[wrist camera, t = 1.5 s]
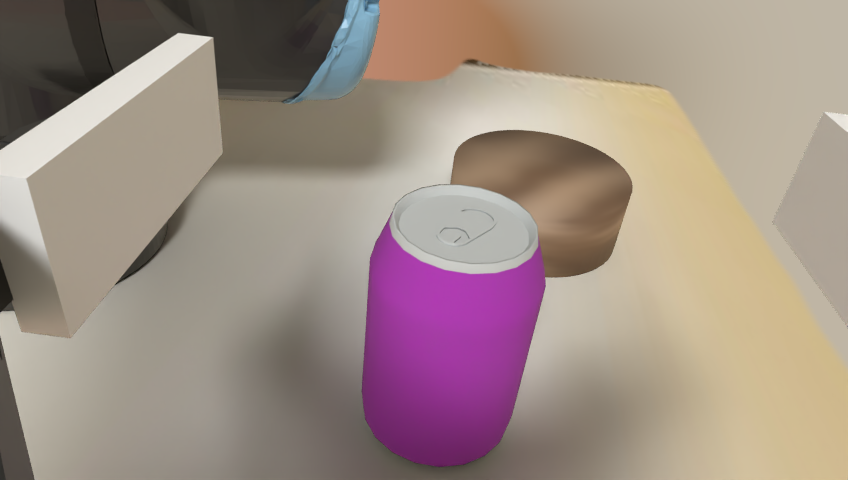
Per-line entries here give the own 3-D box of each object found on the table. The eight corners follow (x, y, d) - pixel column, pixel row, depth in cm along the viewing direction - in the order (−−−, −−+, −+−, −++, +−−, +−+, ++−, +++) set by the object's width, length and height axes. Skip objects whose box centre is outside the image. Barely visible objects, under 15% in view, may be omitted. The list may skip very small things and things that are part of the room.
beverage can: (457, 508, 29) (501, 306, 22) (329, 422, 32) (333, 223, 25) (532, 405, 34) (586, 218, 28) (416, 341, 38) (439, 159, 31)
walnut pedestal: (412, 209, 50) (418, 151, 47) (525, 170, 57) (536, 118, 54) (534, 300, 42) (550, 237, 39) (647, 241, 49) (668, 185, 46)
